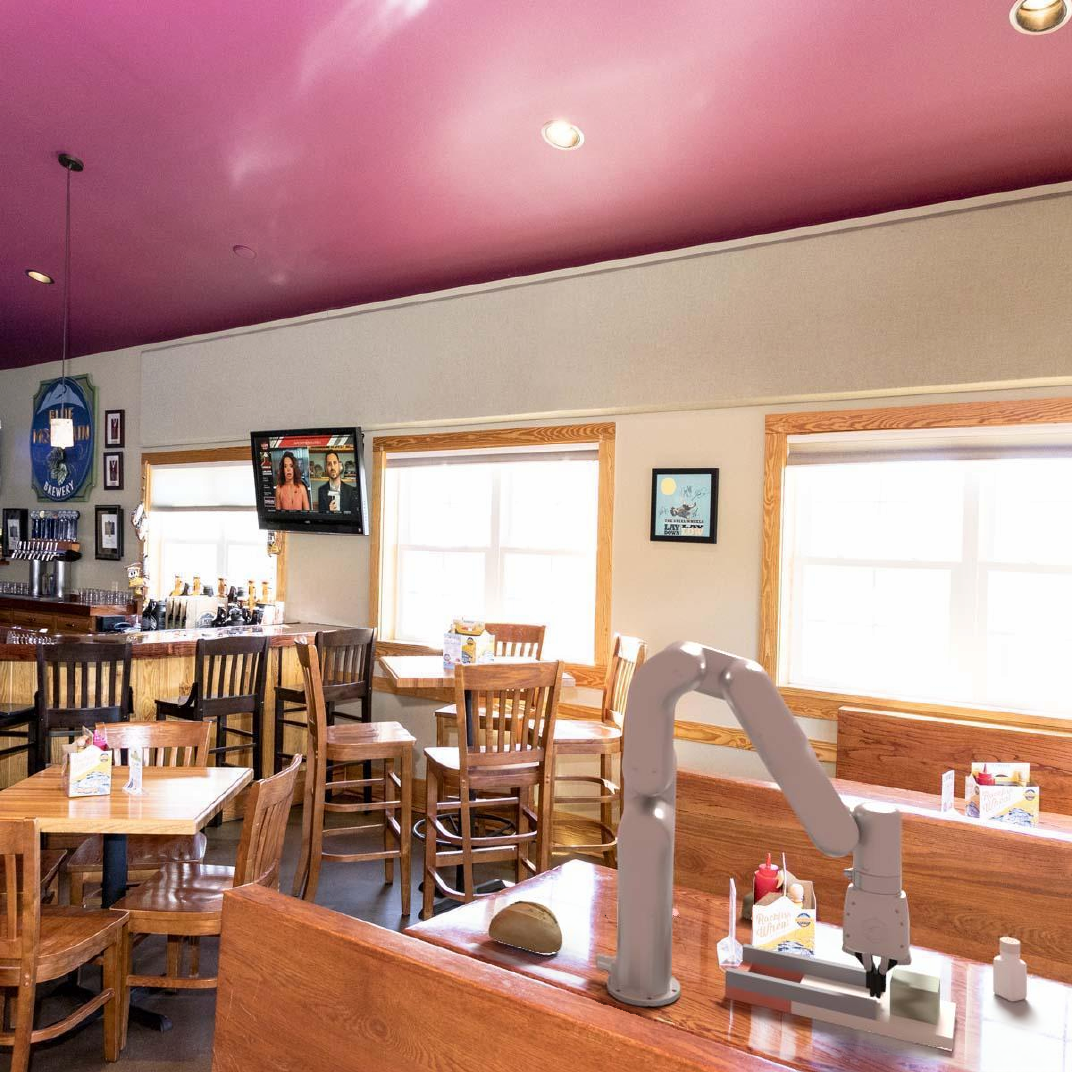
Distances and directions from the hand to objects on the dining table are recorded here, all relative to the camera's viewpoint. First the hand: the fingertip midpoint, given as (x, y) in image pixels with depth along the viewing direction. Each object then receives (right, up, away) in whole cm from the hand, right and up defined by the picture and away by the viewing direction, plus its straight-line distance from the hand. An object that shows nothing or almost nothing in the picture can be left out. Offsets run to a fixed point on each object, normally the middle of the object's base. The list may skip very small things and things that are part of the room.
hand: (875, 994), depth 148 cm
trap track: (-5, -3, +2) cm, 7 cm away
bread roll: (-58, -3, +24) cm, 63 cm away
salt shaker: (+26, -5, +8) cm, 28 cm away
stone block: (-7, -5, +39) cm, 40 cm away
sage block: (+5, -1, -3) cm, 6 cm away
